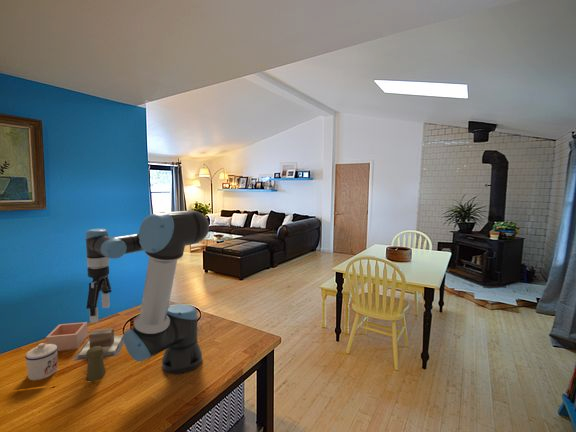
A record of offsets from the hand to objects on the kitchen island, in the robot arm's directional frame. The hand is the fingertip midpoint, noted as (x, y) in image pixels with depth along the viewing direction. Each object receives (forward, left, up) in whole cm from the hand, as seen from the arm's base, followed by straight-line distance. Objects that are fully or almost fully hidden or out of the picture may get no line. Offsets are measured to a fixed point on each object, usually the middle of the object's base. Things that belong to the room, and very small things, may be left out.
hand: (100, 314), depth 123 cm
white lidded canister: (-12, +15, -15) cm, 25 cm away
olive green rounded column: (-19, -4, -15) cm, 25 cm away
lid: (0, 0, -15) cm, 15 cm away
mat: (0, 0, -15) cm, 15 cm away
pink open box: (+6, +15, -15) cm, 22 cm away
